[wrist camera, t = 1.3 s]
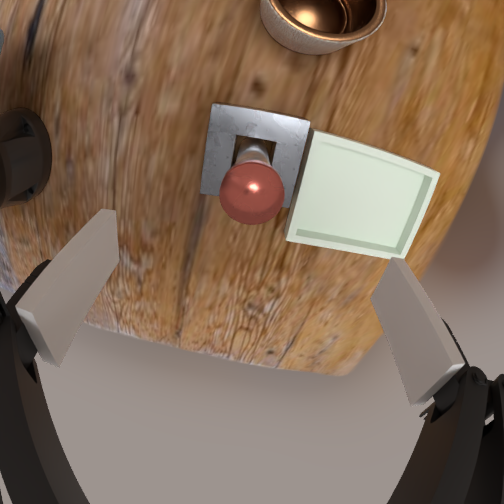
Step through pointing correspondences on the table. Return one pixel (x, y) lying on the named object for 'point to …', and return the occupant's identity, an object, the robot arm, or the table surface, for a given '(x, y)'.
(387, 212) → the tray
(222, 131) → the block
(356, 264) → the table surface
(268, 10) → the planter
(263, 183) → the red capped tube
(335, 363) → the table surface
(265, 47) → the table surface
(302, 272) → the table surface
